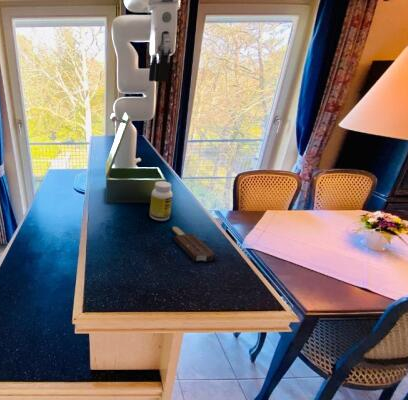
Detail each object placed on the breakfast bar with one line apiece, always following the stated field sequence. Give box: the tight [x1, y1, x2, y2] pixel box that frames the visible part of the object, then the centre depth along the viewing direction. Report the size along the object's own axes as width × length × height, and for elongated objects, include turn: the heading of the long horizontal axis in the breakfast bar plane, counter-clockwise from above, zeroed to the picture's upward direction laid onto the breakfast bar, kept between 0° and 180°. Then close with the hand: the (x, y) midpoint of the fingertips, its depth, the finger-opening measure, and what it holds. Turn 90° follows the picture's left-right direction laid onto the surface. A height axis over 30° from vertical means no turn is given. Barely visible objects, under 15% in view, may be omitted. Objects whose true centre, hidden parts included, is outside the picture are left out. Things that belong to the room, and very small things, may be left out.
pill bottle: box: [149, 181, 174, 222], centre depth 80 cm, size 6×6×11 cm
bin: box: [105, 167, 167, 204], centre depth 95 cm, size 20×13×9 cm, turn 89°
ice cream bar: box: [171, 226, 215, 263], centre depth 69 cm, size 5×2×15 cm
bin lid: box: [104, 112, 130, 179], centre depth 89 cm, size 20×13×5 cm
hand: (157, 81), depth 69 cm, fingers open, 9 cm apart
